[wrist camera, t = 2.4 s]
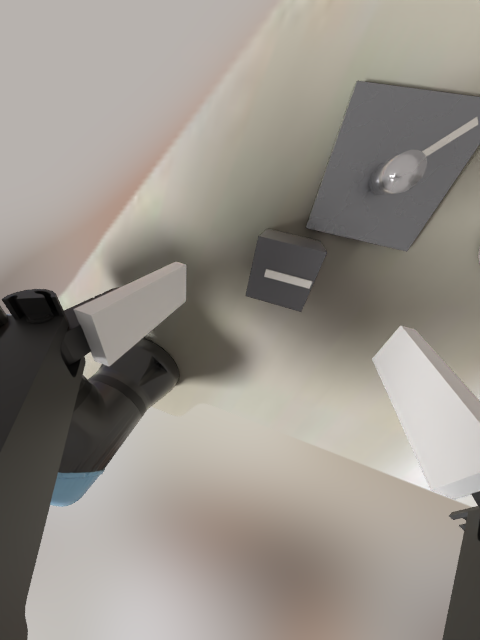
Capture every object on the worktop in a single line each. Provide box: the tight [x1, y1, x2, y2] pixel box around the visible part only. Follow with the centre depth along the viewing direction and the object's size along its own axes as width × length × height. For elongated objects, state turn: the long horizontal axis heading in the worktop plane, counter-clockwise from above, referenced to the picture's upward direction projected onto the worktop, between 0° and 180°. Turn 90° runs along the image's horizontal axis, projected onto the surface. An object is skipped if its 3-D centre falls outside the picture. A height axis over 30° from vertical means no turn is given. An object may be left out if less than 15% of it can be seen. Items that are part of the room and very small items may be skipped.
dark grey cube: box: [246, 229, 327, 312], centre depth 20 cm, size 6×6×6 cm
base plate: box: [306, 81, 480, 251], centre depth 15 cm, size 10×10×4 cm
